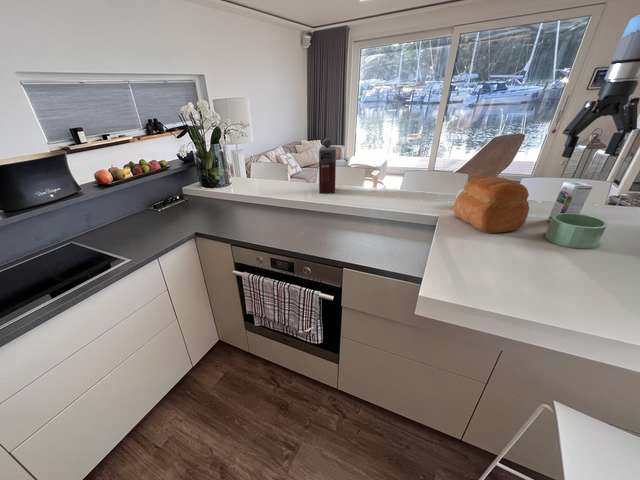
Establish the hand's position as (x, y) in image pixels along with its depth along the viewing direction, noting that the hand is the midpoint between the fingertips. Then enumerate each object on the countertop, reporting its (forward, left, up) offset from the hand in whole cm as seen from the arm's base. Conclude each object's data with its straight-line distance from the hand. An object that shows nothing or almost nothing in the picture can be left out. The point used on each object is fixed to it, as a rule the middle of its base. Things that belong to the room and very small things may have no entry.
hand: (587, 155), depth 95 cm
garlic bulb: (+23, -22, -24) cm, 40 cm away
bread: (+25, -3, -24) cm, 34 cm away
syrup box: (0, +1, -24) cm, 24 cm away
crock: (+8, +15, -24) cm, 29 cm away
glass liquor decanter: (+80, -59, -24) cm, 102 cm away
